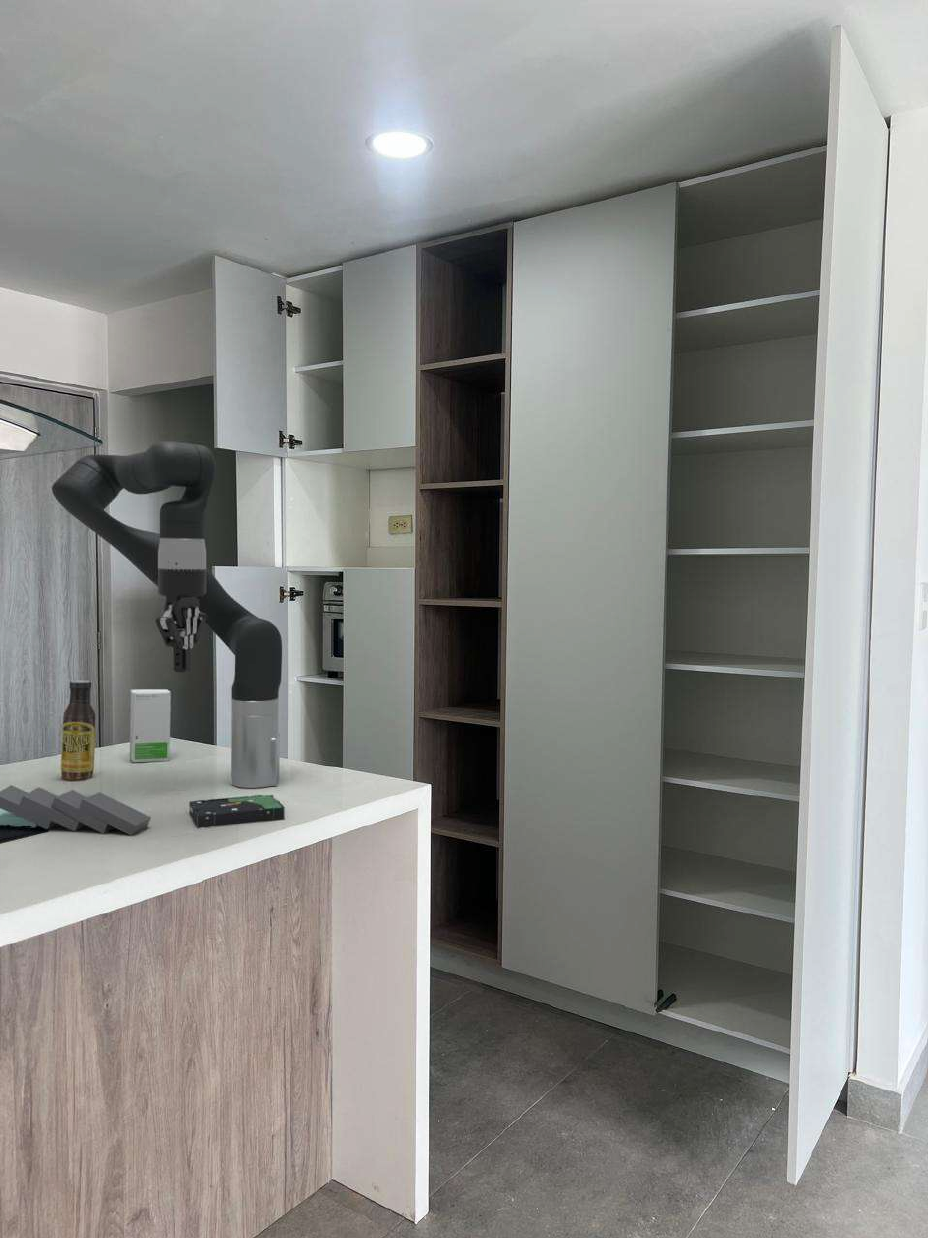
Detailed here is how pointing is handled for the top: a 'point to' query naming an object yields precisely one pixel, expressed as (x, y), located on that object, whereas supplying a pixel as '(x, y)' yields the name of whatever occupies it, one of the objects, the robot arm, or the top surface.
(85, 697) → the sauce bottle
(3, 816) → the domino
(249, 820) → the disk drive
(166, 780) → the top surface
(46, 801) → the domino
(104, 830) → the domino
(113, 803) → the domino
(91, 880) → the top surface
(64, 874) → the top surface
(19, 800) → the domino
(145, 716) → the skincare box
